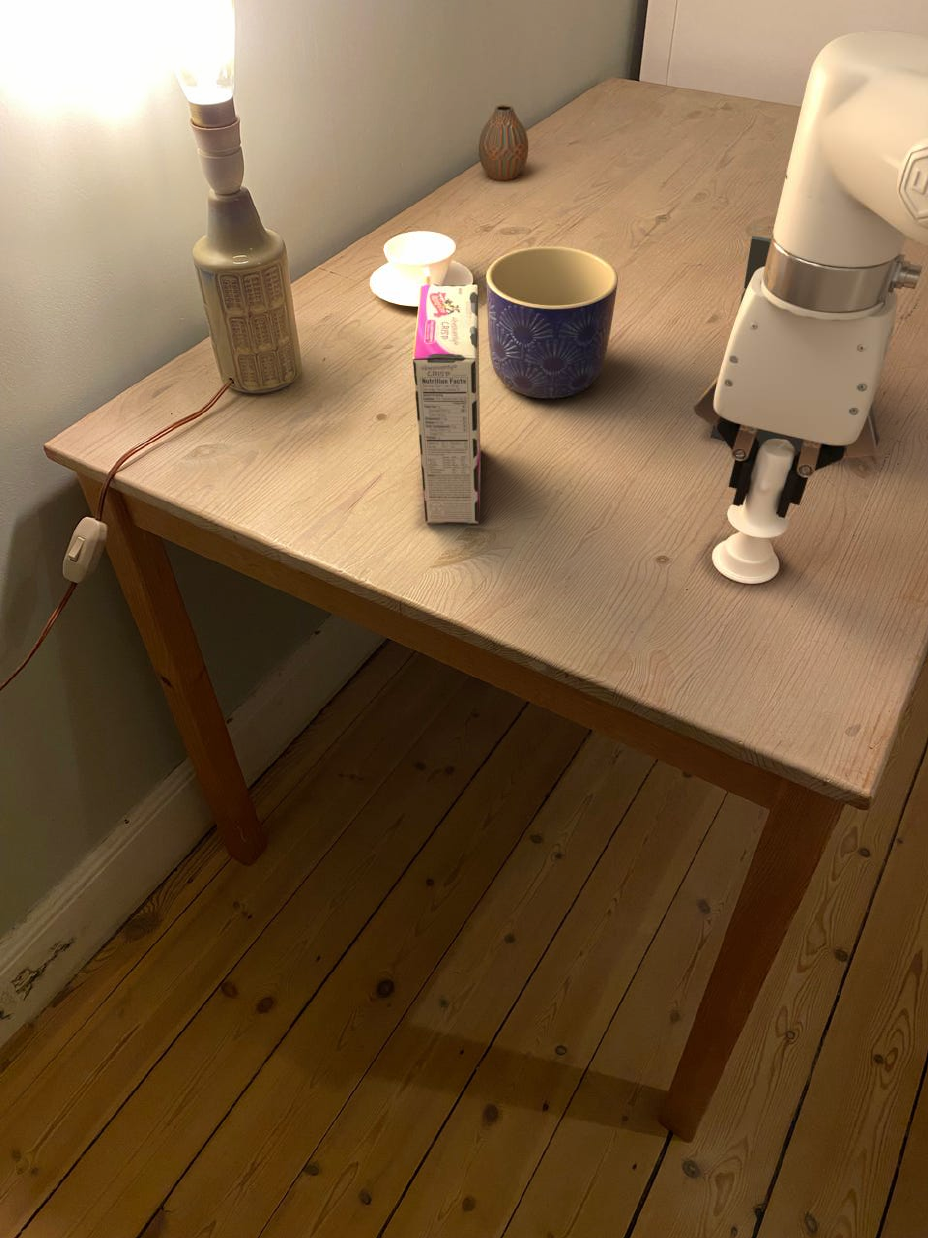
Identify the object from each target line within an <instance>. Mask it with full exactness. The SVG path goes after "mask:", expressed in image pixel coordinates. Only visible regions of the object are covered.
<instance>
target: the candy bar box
mask: <svg viewBox="0 0 928 1238" xmlns="http://www.w3.org/2000/svg"><path fill="white" fill-rule="evenodd" d="M417 307H418V308H417V317H416V323H415V324H416V325H415V334H414V342H413V351H412V366H413V379H414V389H415V390H414V391H415V393H414V395H415V405H416V419H417V430H418V431H417V432H418V437H419V438H418V440H419V441H418V442H419V451H420V453H419V454H420V465H421V478H422V479H421V480H422V493H423V505H424V506H423V507H424V519H425V520H424V521H425V523H426V524H430V525H454V524H455V525H456V524H461V525H478V524H480V512H481V511H480V509H481V508H480V507H481V506H480V505H481V470H482V469H481V468H482V467H481V465H482V464H481V459H482V458H481V455H482V453H481V450H482V449H481V447H482V445H481V412H480V411H481V408H480V406H481V405H480V401H481V400H480V333H479V331H480V329H479V326H480V325H479V322H480V321H479V286H478V284H472V285H441V286H439V285H436V284H432V285H424V286H420V292H419V305H418V306H417Z"/></svg>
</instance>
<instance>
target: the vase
mask: <svg viewBox="0 0 928 1238" xmlns="http://www.w3.org/2000/svg"><path fill="white" fill-rule="evenodd" d="M528 138H529V137H528V135H527V131H526V128H525V127H524V125H523V124H522V122H521V121H520V119H519V118H518V116H517V114H516V112H515V110H514V107H513V106H512V105H509V104H500V105H497V106H495V108H494V111H493V113H492V115H491V116H490V118H489V119H488V121H486V123H485V125H484V126H483V128H482V131H481V132H480V136H479V141H478V158H479V162H480V164H481V167H482V169H483V170H484V173H486V175H488V177H490V178H491V179H493V180H496V181H509V180H513V179H516V178H517V176H519V175H520V173H521V172H523V170H524V168H525V166H526V164H527V160H528V156H529V139H528Z"/></svg>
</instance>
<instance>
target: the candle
mask: <svg viewBox="0 0 928 1238" xmlns="http://www.w3.org/2000/svg"><path fill="white" fill-rule="evenodd" d="M794 456H795V449H794V447H793V445H792V444H791V443H790V442H789V441H787V440H781V439H770V440H767V441H765V442H764V443H763V444H762V445H761V446H760V448H759V450H758V453H757V456H756V460H755V464H754V467H753V471H752V475H751V482H750V486H749V489H748V493H747V496H746V498H745V500H744V503H743V505H740V506H736V505H733V503H732V504H731V505H730V506H729V508H728V510H727V515H726V516H727V519H728V522H729V523H730V524H731V526H732V527H733V528H734V529H735V530H736V531H738V532H735V533H733V534H732V535H730V536H729V537H728V538H727V539H726V540H723V541H721V542H720V543H718V544H717V545H716V546H715V548H713V551H712V553H711V559H712V564H713V565H714V567H715V568H716V570H717V571H718V572H719V573H720V574H722V575H723V576H725V577H726V578H728V580H729V579H730V580H731V581H734V582H738V583H740V584H741V583H742V584H748V585H756V584H762V583H765V582H768V581H770V580H772V579H773V578H774V577H775V576H776V575H777V574H778V572H779V569H780V561H779V558H778V556H777V554H776V553H775V551H774V547H773V545H772V543H771V542H770V541H769V540H768V539H771V538H776V537H779V536H781V535H782V534H784V533H785V532H786V531H787V530H788V529H789V526H790V517H789V516H788V513H786V516H785V518H781V517H778V515H777V514H776V512H777V508H778V505H779V502H780V498H781V495H782V492H783V488H784V485H785V482H786V478H787V475H788V472H789V470H790V469H791V467H792V464H793V460H794Z"/></svg>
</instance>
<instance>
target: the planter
mask: <svg viewBox="0 0 928 1238" xmlns="http://www.w3.org/2000/svg"><path fill="white" fill-rule="evenodd" d="M485 278H486V279H485V280H486V304H487V305H486V306H487V307H486V308H487V309H486V310H487V333H488V347H489V354H490V355H489V356H490V361H491V365H492V368H493V371H494V373H495V375H496V377H497V378H498V379H499V380H500V382H502V384H503V385H505V386H506V387H508V388H509V389H511V390H512V391H514V392H516V393H518V394H521V395H524V396H526V397H530V398H536V399H537V398H538V399H559V398H565V397H570V396H572V395H576V394H578V393H580V392H581V391H583V390H585V389H587V388H589V387H590V385H592V384H593V383H594V382H595V381H596V379H597V378H598V376H599V375H600V373H601V371H602V368H603V366H604V362H605V359H606V356H607V351H608V347H609V342H610V341H609V340H610V336H611V329H612V322H613V317H614V310H615V304H616V297H617V289H618V285H619V284H618V283H619V275H618V273H617V270H616V268H615V267H614V266H613V265H612V264H611V263H610V262H608V261H607V260H606V259H604V258H603V257H601V256H599V255H597V254H595V253H593V252H590V251H587V250H583V249H580V248H575V247H570V246H559V245H541V246H530V247H525V248H520V249H516V250H513V251H511V252H508V253H506V254H504V255H502V256H499V258H497V259H496V260H495V261H493V262H492V264H491V265H490V266H489V267H488V269H487V271H486V277H485Z"/></svg>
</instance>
